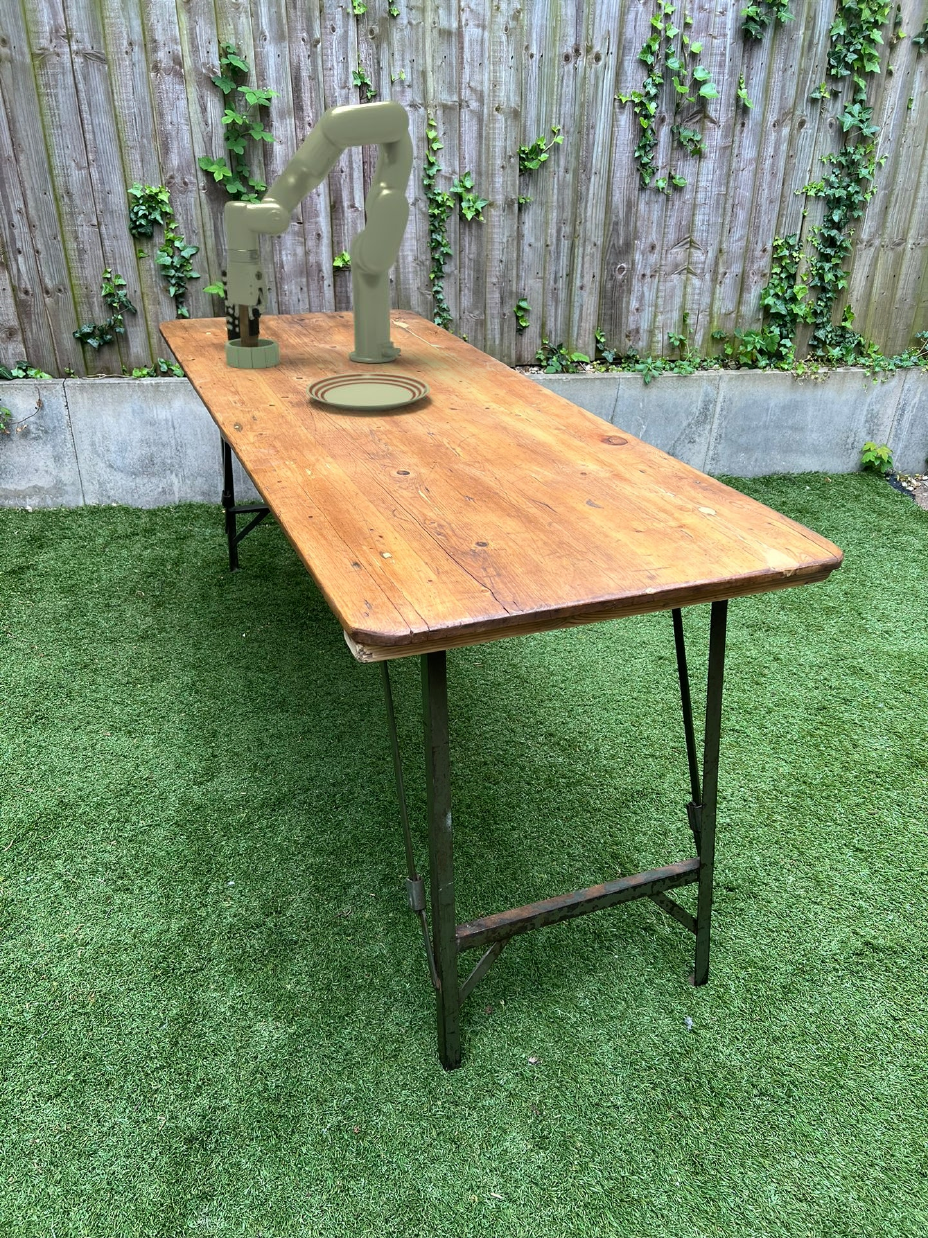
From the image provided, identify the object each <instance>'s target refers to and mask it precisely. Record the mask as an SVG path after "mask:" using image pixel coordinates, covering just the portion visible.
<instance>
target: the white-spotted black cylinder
mask: <svg viewBox="0 0 928 1238" xmlns="http://www.w3.org/2000/svg"><path fill="white" fill-rule="evenodd" d="M220 273H221V279H222V280H221V283H222V292H223V302H224V311H225V323H226V332H227V342H228V341H230V340H236V339H241V334H239V331H238V317H236V315H235V312H234V310H233V308H232V307H231V306H229V305H228V303H227V301H228V294H227V268H226V269H223V270H221V272H220ZM258 338H260V334H259V335H258Z"/></svg>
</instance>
